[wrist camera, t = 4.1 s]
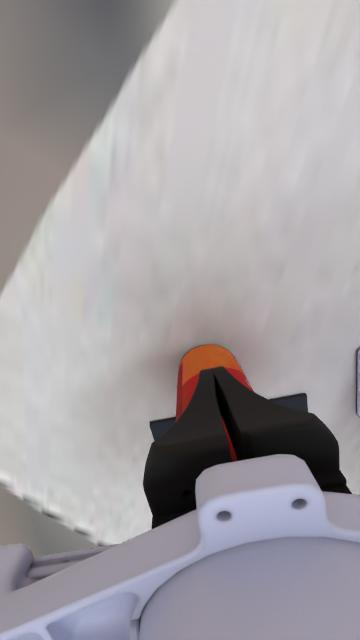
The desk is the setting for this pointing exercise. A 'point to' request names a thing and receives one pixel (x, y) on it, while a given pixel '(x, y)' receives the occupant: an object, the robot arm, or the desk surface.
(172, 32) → the desk surface
